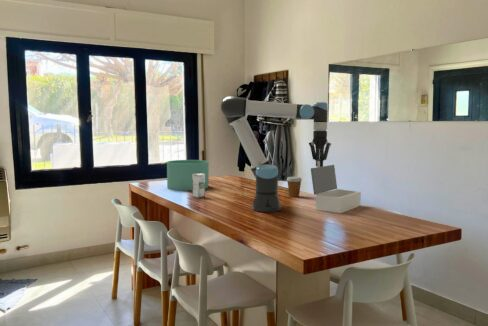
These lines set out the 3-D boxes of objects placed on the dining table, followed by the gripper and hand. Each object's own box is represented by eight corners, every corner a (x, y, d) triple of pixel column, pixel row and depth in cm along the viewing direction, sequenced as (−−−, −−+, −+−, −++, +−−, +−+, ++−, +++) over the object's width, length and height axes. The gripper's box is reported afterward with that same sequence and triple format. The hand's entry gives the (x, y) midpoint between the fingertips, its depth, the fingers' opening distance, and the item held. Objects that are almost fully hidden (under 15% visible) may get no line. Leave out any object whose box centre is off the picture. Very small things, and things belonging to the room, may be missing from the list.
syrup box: (198, 195, 261) (198, 172, 259) (205, 196, 257) (205, 173, 256) (192, 196, 256) (191, 173, 255) (198, 197, 253) (198, 174, 251)
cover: (312, 168, 218) (310, 168, 219) (315, 194, 218) (313, 194, 219) (334, 164, 239) (332, 164, 240) (337, 188, 239) (335, 188, 239)
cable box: (340, 213, 210) (340, 197, 210) (316, 209, 219) (316, 194, 218) (360, 205, 231) (360, 191, 230) (337, 202, 239) (337, 189, 239)
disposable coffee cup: (301, 197, 255) (301, 178, 254) (285, 197, 257) (286, 178, 256) (301, 195, 264) (302, 176, 263) (287, 194, 266) (287, 176, 265)
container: (164, 185, 306) (164, 160, 304) (203, 183, 315) (203, 159, 313) (170, 191, 278) (169, 163, 276) (212, 189, 287) (212, 163, 285)
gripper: (333, 130, 228) (332, 172, 230) (312, 130, 235) (312, 171, 238) (327, 130, 222) (326, 173, 224) (306, 130, 230) (305, 172, 232)
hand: (319, 172), depth 231 cm, fingers closed
